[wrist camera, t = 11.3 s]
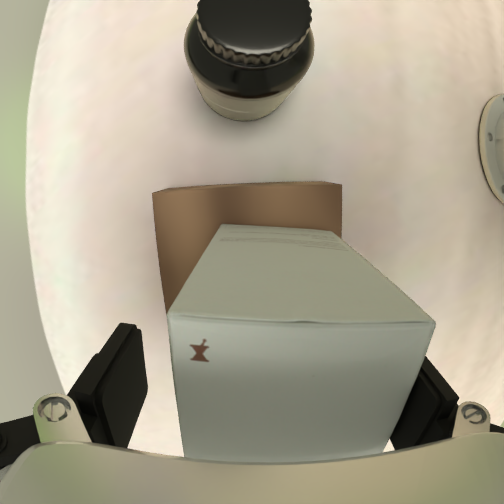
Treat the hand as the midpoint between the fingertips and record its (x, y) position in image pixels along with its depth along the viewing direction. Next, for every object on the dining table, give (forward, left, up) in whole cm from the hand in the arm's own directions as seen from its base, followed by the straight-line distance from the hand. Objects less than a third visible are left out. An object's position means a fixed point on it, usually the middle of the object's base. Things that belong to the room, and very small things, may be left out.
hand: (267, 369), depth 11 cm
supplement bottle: (+2, -14, -15) cm, 20 cm away
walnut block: (0, 0, -15) cm, 15 cm away
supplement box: (-1, 0, -10) cm, 10 cm away
